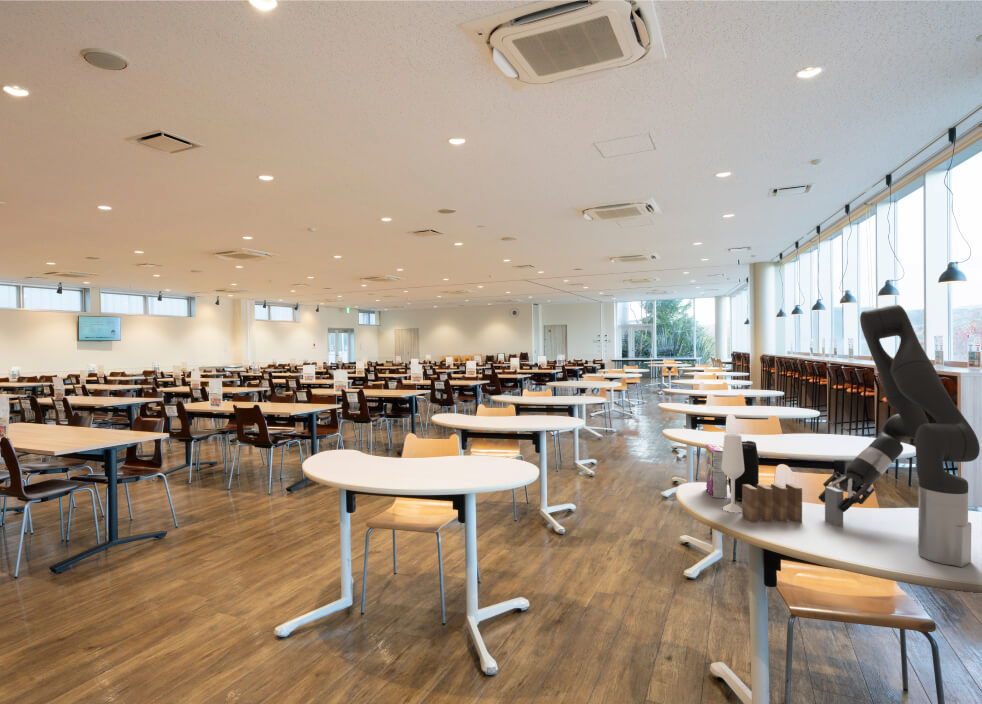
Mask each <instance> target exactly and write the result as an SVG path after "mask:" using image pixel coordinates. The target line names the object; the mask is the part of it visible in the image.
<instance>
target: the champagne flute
mask: <svg viewBox="0 0 982 704" xmlns="http://www.w3.org/2000/svg"><path fill="white" fill-rule="evenodd" d="M723 439H724V440H723V446H722V448H723V456H722V466H721V469H722V471H723V472H724V474H725V475H726V476H727V479H728V478H730V479H731V493H730V503H728V504H726V505H723V506H724V507H723V506H722V507H723V509H724V510H726V511H725V512H727V511H729V512H728V513H732V512H735V513H736V514H739V513H738V512H741V513H742V507H740V506H739V505H738V504H736V502H735V479H737V478H738V477H740V476H741V475H742V474H743V472H744V460H743V450H742V435H741V434H739V433H725V434H724V438H723ZM724 510H723V511H724Z"/></svg>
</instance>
